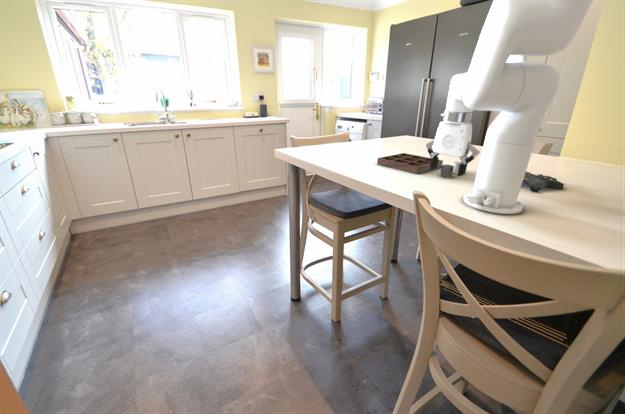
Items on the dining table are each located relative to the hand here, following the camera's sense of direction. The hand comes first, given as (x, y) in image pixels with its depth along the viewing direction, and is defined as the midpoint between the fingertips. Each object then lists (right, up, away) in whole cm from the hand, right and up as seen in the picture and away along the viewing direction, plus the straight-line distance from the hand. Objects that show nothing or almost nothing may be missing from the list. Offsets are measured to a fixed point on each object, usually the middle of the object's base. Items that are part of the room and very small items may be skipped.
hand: (446, 172), depth 94 cm
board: (-8, +4, +14) cm, 16 cm away
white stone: (+6, 0, +5) cm, 8 cm away
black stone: (0, -1, 0) cm, 1 cm away
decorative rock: (+23, -4, -6) cm, 25 cm away
